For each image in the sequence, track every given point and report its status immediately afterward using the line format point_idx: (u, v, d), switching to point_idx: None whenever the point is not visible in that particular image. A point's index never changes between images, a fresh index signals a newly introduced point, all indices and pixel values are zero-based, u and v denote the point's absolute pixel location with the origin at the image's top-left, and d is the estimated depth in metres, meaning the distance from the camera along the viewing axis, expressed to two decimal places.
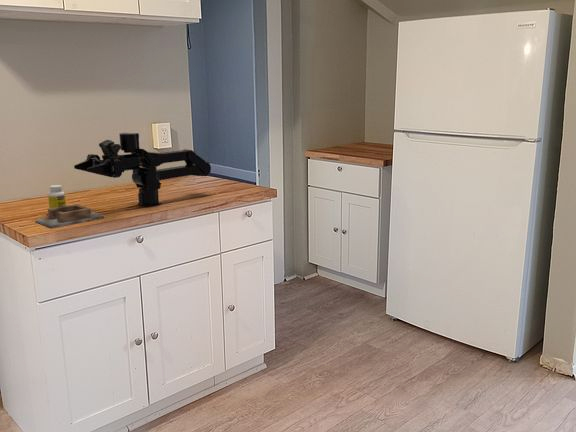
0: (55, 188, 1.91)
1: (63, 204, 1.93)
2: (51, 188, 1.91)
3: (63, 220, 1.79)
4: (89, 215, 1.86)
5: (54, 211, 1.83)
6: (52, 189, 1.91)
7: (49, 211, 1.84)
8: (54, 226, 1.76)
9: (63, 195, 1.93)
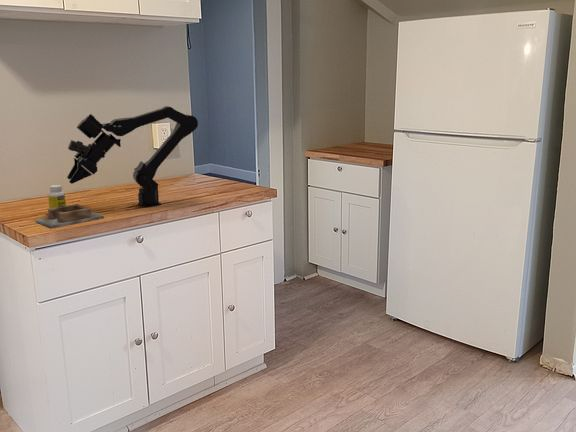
0: (55, 188, 1.91)
1: (63, 204, 1.93)
2: (51, 188, 1.91)
3: (63, 220, 1.79)
4: (89, 215, 1.86)
5: (54, 211, 1.83)
6: (52, 189, 1.91)
7: (49, 211, 1.84)
8: (54, 226, 1.76)
9: (63, 195, 1.93)
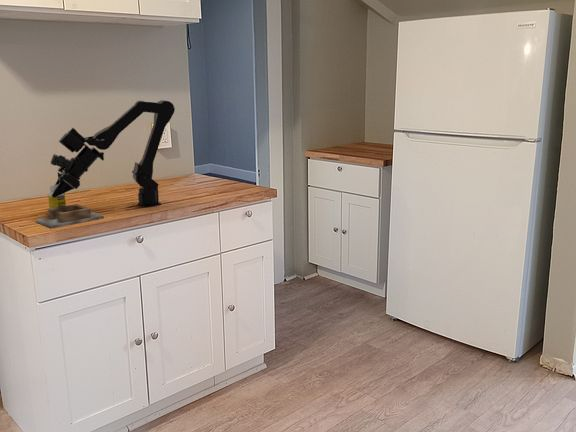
0: (55, 188, 1.91)
1: (63, 204, 1.93)
2: (51, 188, 1.91)
3: (63, 220, 1.79)
4: (89, 215, 1.86)
5: (54, 211, 1.83)
6: (52, 189, 1.91)
7: (49, 211, 1.84)
8: (54, 226, 1.76)
9: (63, 195, 1.93)
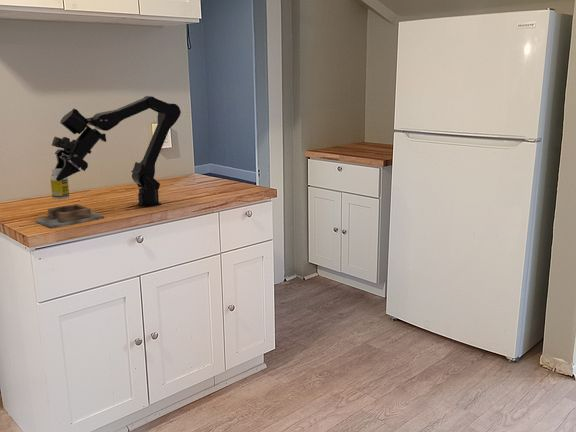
0: (59, 171, 1.85)
1: (67, 188, 1.87)
2: (54, 172, 1.85)
3: (63, 220, 1.79)
4: (89, 215, 1.86)
5: (54, 211, 1.83)
6: (55, 173, 1.85)
7: (49, 211, 1.84)
8: (54, 226, 1.76)
9: (66, 179, 1.87)
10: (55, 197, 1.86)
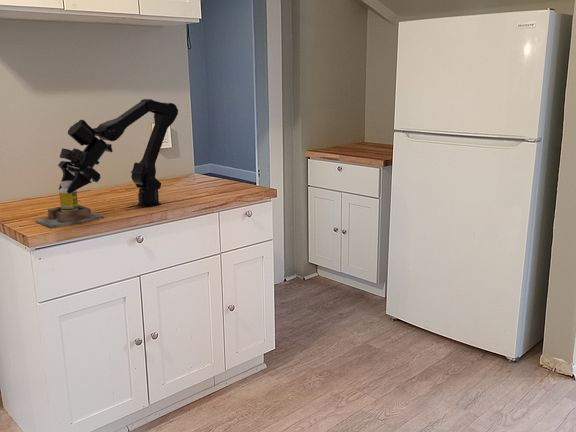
0: (69, 184, 1.82)
1: (76, 200, 1.85)
2: (64, 184, 1.81)
3: (63, 220, 1.79)
4: (89, 215, 1.86)
5: (54, 211, 1.83)
6: (65, 185, 1.81)
7: (49, 211, 1.84)
8: (54, 226, 1.76)
9: (76, 191, 1.84)
10: (65, 210, 1.83)
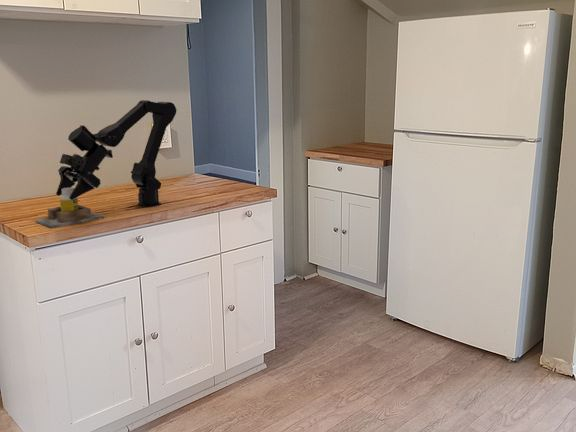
0: (70, 191, 1.82)
1: (77, 207, 1.85)
2: (65, 191, 1.82)
3: (63, 220, 1.79)
4: (89, 215, 1.86)
5: (54, 211, 1.83)
6: (66, 192, 1.82)
7: (49, 211, 1.84)
8: (54, 226, 1.76)
9: None
10: None
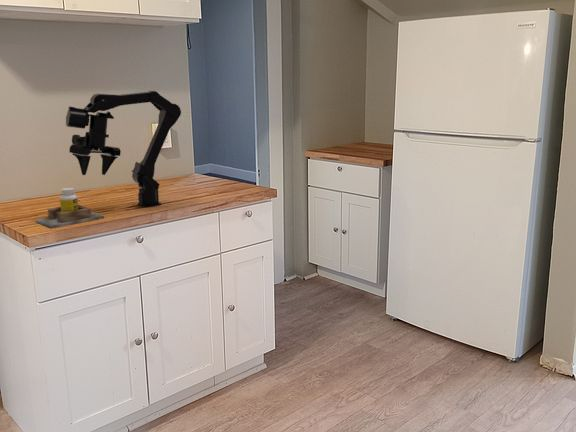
0: (70, 191, 1.82)
1: (77, 207, 1.85)
2: (65, 191, 1.82)
3: (63, 220, 1.79)
4: (89, 215, 1.86)
5: (54, 211, 1.83)
6: (66, 192, 1.82)
7: (49, 211, 1.84)
8: (54, 226, 1.76)
9: None
10: None
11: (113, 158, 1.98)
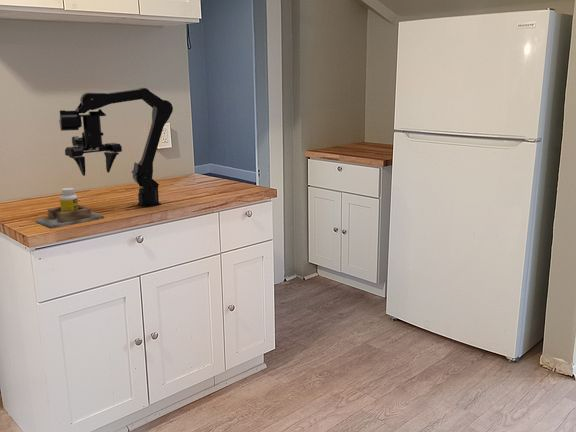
0: (70, 191, 1.82)
1: (77, 207, 1.85)
2: (65, 191, 1.82)
3: (63, 220, 1.79)
4: (89, 215, 1.86)
5: (54, 211, 1.83)
6: (66, 192, 1.82)
7: (49, 211, 1.84)
8: (54, 226, 1.76)
9: None
10: None
11: (113, 155, 1.98)
